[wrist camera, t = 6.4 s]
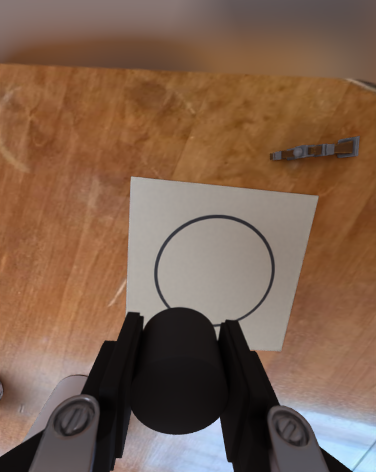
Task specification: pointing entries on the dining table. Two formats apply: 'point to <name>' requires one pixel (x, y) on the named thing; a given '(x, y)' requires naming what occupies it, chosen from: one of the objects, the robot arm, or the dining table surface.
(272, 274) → the paper sheet
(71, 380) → the mug
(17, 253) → the dining table surface
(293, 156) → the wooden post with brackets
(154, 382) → the eye dot
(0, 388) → the pill bottle
